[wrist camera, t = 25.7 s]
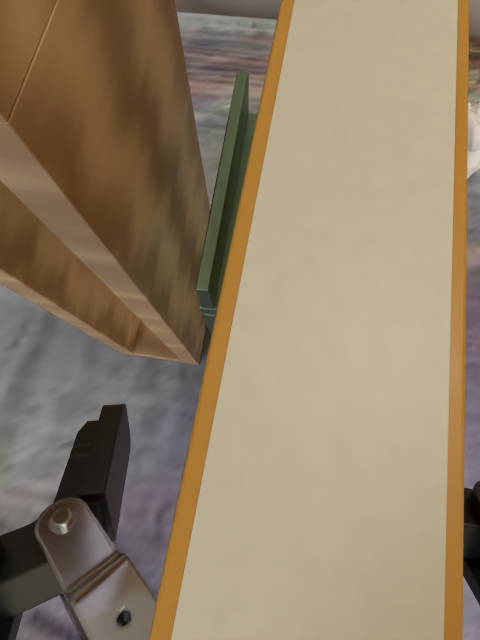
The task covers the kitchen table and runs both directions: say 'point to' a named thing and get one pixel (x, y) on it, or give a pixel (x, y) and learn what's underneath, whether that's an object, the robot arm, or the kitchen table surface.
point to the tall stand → (102, 172)
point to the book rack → (225, 200)
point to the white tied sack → (473, 139)
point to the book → (337, 346)
